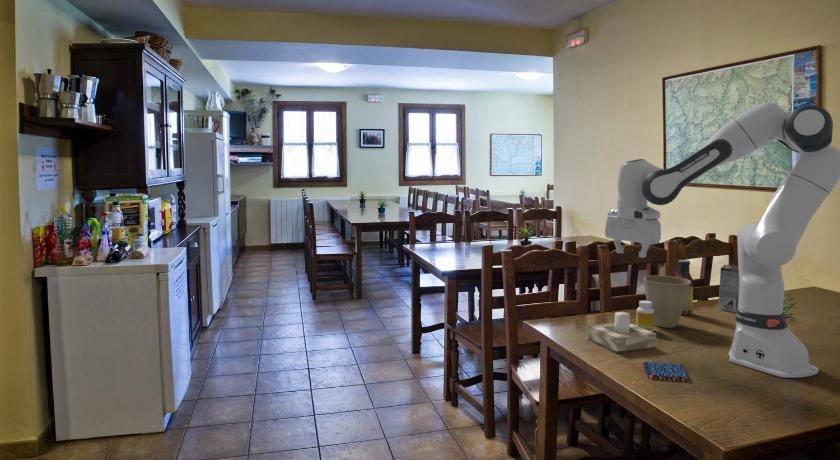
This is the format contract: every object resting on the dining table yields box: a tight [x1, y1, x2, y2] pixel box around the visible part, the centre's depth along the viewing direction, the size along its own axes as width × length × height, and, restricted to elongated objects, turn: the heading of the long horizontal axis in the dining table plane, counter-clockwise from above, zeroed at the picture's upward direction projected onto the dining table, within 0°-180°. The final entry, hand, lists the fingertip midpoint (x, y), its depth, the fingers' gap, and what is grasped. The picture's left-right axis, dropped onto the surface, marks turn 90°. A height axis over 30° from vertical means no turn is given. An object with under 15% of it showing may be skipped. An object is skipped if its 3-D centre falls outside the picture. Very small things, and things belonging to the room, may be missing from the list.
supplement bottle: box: [635, 300, 654, 332], centre depth 198 cm, size 5×5×10 cm
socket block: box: [588, 322, 657, 354], centre depth 183 cm, size 14×14×5 cm
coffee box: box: [717, 264, 739, 313], centre depth 226 cm, size 9×6×16 cm
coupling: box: [614, 311, 631, 335], centre depth 183 cm, size 7×4×9 cm, turn 128°
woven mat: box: [643, 361, 691, 383], centre depth 159 cm, size 10×11×2 cm
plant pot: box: [643, 275, 691, 328], centre depth 204 cm, size 15×15×16 cm
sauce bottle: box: [675, 259, 694, 316], centre depth 219 cm, size 6×6×20 cm
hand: (630, 255), depth 187 cm, fingers open, 8 cm apart
